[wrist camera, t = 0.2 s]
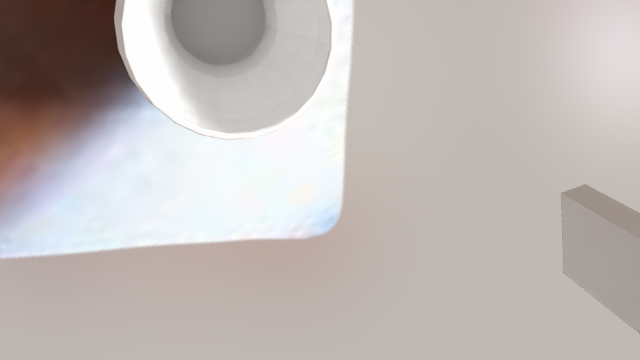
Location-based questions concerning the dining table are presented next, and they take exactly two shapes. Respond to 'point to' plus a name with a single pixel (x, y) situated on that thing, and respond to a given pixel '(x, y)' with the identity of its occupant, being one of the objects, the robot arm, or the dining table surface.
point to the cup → (227, 60)
